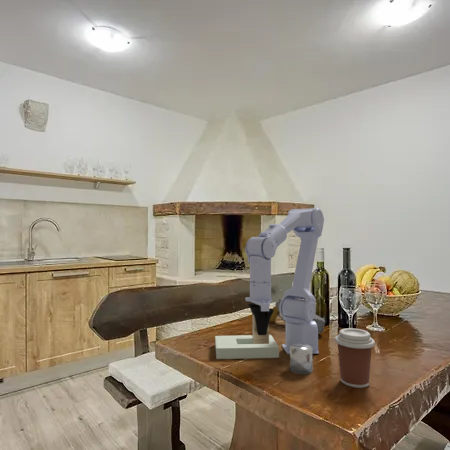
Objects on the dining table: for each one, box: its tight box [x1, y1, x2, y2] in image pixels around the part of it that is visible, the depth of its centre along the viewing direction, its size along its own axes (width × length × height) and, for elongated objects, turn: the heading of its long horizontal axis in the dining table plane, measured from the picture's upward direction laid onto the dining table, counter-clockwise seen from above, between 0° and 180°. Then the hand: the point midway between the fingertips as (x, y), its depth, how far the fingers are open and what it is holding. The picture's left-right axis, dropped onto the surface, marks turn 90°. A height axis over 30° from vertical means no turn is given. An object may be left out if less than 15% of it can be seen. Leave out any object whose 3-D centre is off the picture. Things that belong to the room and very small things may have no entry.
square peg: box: [251, 313, 270, 344], centre depth 95 cm, size 4×4×7 cm
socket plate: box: [214, 334, 280, 360], centre depth 107 cm, size 18×12×3 cm, turn 93°
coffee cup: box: [334, 327, 376, 389], centre depth 86 cm, size 9×9×12 cm
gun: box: [269, 297, 326, 334], centre depth 133 cm, size 3×25×15 cm, turn 36°
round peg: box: [289, 344, 313, 375], centre depth 93 cm, size 6×6×6 cm
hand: (260, 332), depth 95 cm, fingers closed on square peg, 4 cm apart
